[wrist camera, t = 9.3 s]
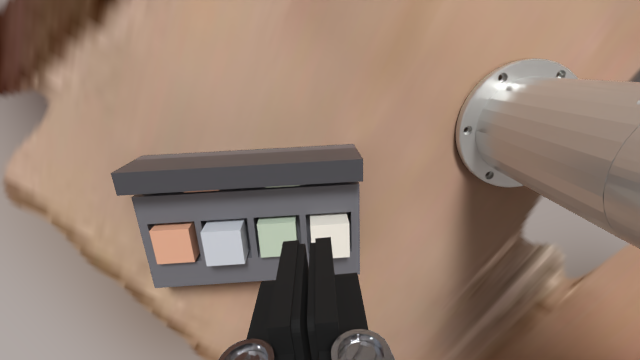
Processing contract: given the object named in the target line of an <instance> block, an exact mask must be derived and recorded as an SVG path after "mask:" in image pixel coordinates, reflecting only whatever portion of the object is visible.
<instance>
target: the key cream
mask: <svg viewBox="0 0 640 360" xmlns="http://www.w3.org/2000/svg"><path fill="white" fill-rule="evenodd" d="M310 230H311V243H315V238H324V237H331V244H332V253H333V258H343V257H350V235H349V221H348V217H347V214H346V212H342V213H325V214H310Z"/></svg>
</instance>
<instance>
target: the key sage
mask: <svg viewBox="0 0 640 360" xmlns="http://www.w3.org/2000/svg"><path fill="white" fill-rule="evenodd" d="M257 229H258V237H259V246H260V254H261V258H263V257H278V256H280V254H281V249H282V244H283V242H284V241H294V240H298V233H297V220H296V215H290V216H274V217H259V219H258V223H257Z"/></svg>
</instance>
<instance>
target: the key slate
mask: <svg viewBox="0 0 640 360" xmlns="http://www.w3.org/2000/svg"><path fill="white" fill-rule="evenodd" d="M200 233H201V239H202V244H203V249H204V254H205V260H206V265H207V266H220V265H236V264H245V262H246V259H247V255H248V252H249V247H248V239H247V232H246V225H245V218H244V219H228V220H211V221H207V223H206V224H205V226H204V228H203V229H202V231H201V232H200Z"/></svg>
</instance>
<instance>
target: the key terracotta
mask: <svg viewBox="0 0 640 360" xmlns="http://www.w3.org/2000/svg"><path fill="white" fill-rule="evenodd" d="M149 233H150V237H151V241H152V245H153V249H154V253H155V257H156V261H157V264H170V263H186V262H195V261H196V259H197V257H198V255H199V253H200V249H199V244H198V239H197V234H196V229H195V224H194V221H192V222H176V223H160V224H155V225H154V227H153V228H152V229H151V230H150V231H149Z"/></svg>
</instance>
